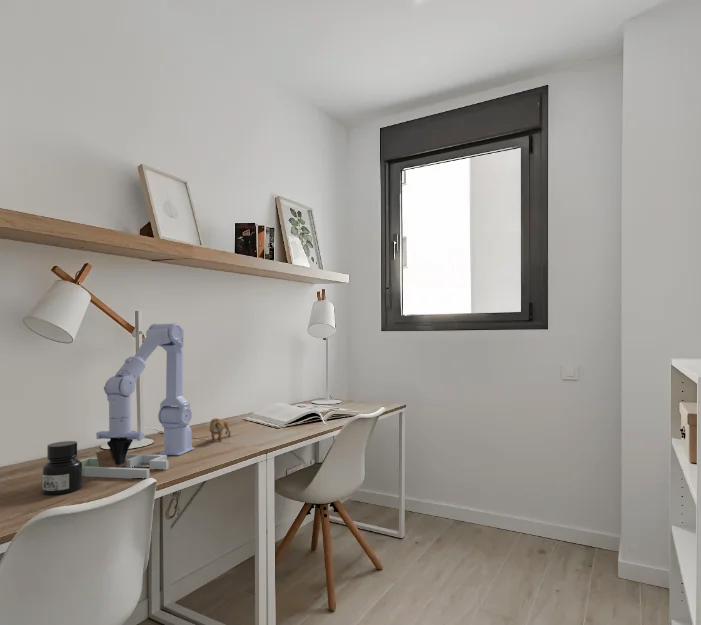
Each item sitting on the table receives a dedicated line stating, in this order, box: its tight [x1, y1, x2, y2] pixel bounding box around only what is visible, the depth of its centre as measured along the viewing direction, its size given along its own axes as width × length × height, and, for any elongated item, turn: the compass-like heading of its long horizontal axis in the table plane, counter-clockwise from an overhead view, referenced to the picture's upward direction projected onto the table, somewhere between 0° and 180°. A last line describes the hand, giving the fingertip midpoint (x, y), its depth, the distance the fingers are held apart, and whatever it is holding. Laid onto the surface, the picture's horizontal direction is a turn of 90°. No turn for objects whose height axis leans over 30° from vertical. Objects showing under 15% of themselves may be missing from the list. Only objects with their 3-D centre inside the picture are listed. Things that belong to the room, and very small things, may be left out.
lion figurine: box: [209, 417, 231, 443], centre depth 188 cm, size 15×5×9 cm, turn 178°
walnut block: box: [96, 448, 127, 468], centre depth 147 cm, size 5×5×6 cm
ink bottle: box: [41, 440, 83, 495], centre depth 130 cm, size 10×9×12 cm
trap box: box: [80, 453, 170, 480], centre depth 148 cm, size 16×28×2 cm, turn 77°
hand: (120, 463), depth 145 cm, fingers closed
